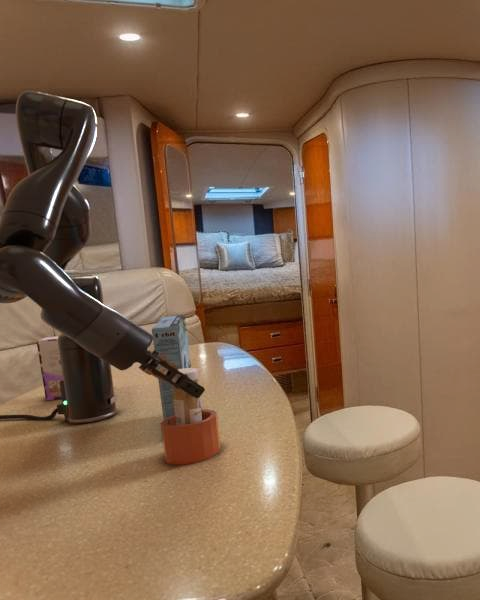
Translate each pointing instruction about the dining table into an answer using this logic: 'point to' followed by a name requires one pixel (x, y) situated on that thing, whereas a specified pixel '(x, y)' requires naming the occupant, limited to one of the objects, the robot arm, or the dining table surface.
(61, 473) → the dining table surface
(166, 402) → the gum box
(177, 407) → the sprinkles bottle
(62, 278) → the robot arm
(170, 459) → the cup
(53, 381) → the candy box
